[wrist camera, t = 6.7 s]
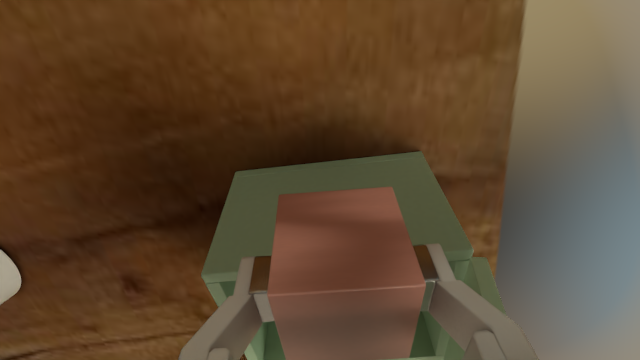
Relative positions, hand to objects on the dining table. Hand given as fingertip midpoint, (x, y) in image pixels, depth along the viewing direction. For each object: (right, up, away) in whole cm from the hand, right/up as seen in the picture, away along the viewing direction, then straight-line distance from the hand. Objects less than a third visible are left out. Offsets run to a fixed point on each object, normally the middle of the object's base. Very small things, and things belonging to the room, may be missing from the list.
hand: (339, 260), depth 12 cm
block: (0, +1, +1) cm, 2 cm away
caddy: (+1, 0, +16) cm, 16 cm away
